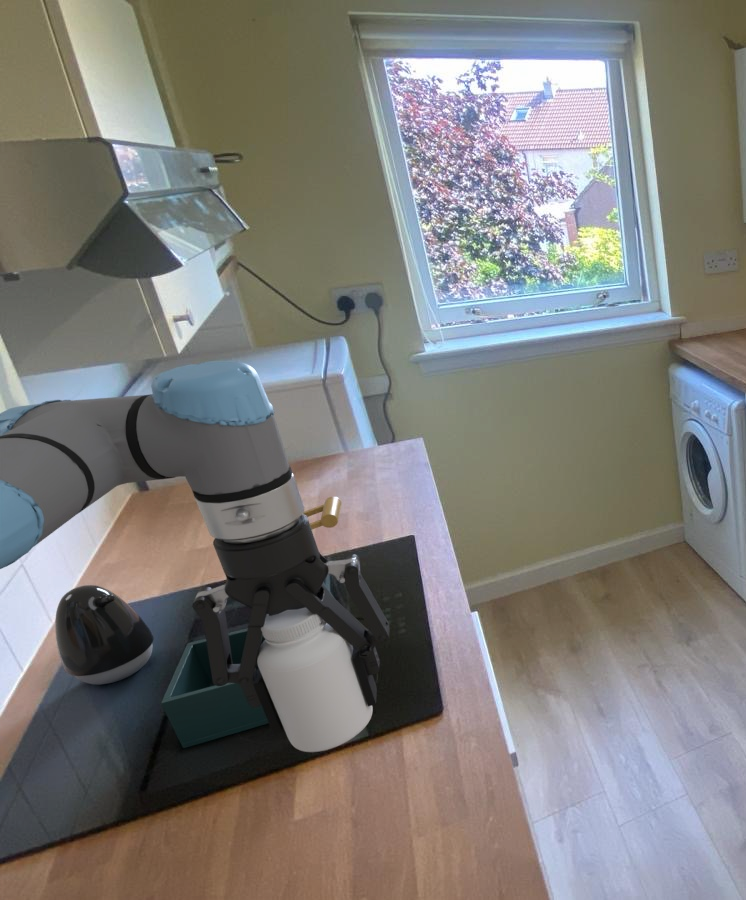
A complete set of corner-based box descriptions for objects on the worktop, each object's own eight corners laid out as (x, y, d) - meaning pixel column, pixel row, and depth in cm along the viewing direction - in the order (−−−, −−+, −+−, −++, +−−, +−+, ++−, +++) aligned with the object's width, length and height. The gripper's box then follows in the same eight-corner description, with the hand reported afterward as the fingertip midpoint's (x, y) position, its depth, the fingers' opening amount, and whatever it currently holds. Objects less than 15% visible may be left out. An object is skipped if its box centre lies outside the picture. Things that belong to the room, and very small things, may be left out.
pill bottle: (271, 745, 77) (223, 628, 71) (337, 693, 84) (298, 583, 78) (327, 763, 75) (283, 644, 69) (391, 708, 82) (355, 596, 75)
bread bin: (183, 748, 97) (160, 703, 94) (206, 685, 108) (187, 643, 105) (343, 701, 104) (327, 657, 101) (349, 646, 116) (335, 606, 112)
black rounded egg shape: (116, 698, 106) (71, 612, 100) (57, 692, 108) (9, 607, 102) (180, 652, 116) (143, 571, 109) (125, 647, 117) (85, 566, 111)
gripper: (106, 573, 62) (200, 771, 71) (382, 516, 70) (434, 701, 79) (134, 533, 68) (217, 720, 77) (384, 486, 76) (432, 660, 86)
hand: (327, 710), depth 78 cm, fingers closed on pill bottle, 8 cm apart
